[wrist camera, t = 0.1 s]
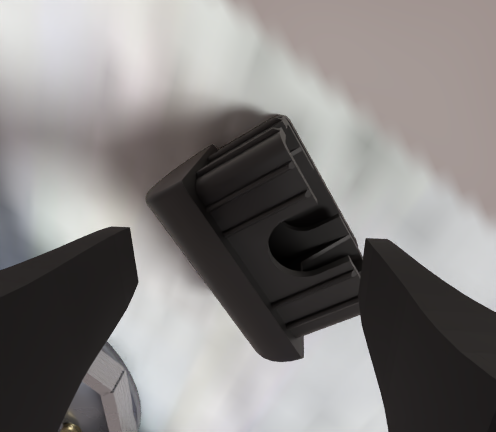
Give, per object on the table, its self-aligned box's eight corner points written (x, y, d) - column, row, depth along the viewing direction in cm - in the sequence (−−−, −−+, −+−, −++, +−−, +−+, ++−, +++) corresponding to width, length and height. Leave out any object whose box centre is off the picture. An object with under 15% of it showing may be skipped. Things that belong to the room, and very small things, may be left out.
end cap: (171, 167, 21) (120, 216, 15) (280, 101, 19) (271, 129, 13) (260, 296, 24) (247, 380, 18) (363, 252, 22) (387, 331, 16)
